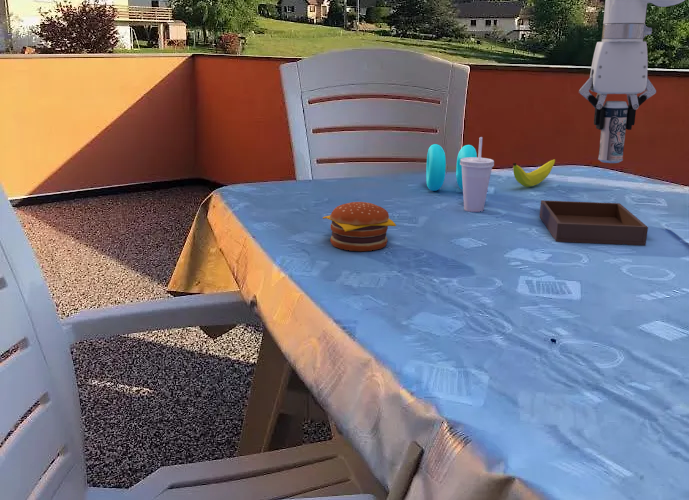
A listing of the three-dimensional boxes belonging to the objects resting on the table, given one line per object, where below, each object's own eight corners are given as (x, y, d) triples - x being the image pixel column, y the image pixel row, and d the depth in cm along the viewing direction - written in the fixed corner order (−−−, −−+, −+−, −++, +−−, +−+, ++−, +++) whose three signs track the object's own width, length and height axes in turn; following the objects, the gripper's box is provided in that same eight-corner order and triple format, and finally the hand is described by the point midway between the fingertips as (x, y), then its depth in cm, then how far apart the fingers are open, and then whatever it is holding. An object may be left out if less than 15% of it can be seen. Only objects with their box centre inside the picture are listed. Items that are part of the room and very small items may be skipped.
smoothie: (474, 215, 132) (479, 140, 128) (450, 208, 137) (454, 136, 133) (497, 210, 136) (503, 137, 132) (473, 204, 141) (478, 133, 137)
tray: (617, 219, 131) (619, 203, 130) (645, 245, 115) (648, 227, 114) (539, 216, 132) (540, 200, 131) (555, 241, 116) (557, 223, 115)
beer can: (612, 164, 141) (618, 103, 137) (592, 161, 145) (598, 101, 141) (627, 162, 143) (634, 101, 140) (607, 159, 147) (613, 100, 144)
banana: (558, 181, 166) (561, 154, 164) (517, 192, 152) (520, 163, 150) (546, 179, 168) (549, 152, 166) (505, 190, 154) (508, 161, 152)
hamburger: (347, 255, 107) (347, 212, 105) (320, 239, 115) (320, 199, 113) (400, 248, 111) (401, 206, 109) (371, 233, 119) (371, 194, 117)
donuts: (424, 185, 158) (427, 140, 155) (469, 186, 158) (472, 141, 155) (428, 195, 149) (430, 147, 146) (476, 196, 148) (479, 148, 145)
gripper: (662, 33, 140) (651, 127, 145) (573, 34, 141) (566, 126, 147) (675, 33, 132) (663, 131, 138) (581, 34, 134) (573, 131, 139)
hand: (613, 128), depth 142 cm, fingers closed on beer can, 4 cm apart
